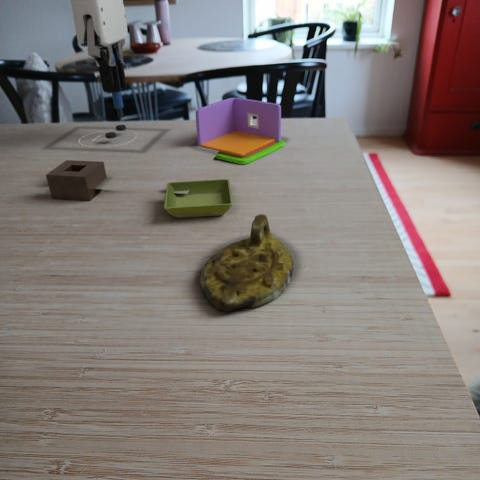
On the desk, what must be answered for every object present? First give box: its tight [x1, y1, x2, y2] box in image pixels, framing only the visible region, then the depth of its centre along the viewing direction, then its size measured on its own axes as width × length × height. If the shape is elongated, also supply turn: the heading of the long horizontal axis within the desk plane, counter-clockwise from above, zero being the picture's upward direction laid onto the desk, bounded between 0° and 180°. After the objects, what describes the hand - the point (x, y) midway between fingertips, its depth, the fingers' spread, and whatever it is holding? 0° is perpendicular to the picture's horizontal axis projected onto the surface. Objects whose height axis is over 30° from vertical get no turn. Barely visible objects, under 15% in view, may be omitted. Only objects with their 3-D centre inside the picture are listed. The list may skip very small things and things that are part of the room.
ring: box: [77, 128, 138, 149], centre depth 92 cm, size 18×12×1 cm, turn 77°
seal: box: [199, 213, 294, 312], centre depth 53 cm, size 9×5×15 cm
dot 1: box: [104, 131, 117, 140], centre depth 89 cm, size 2×2×1 cm
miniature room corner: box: [195, 97, 286, 165], centre depth 86 cm, size 12×12×7 cm
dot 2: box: [115, 124, 127, 132], centre depth 92 cm, size 2×2×1 cm
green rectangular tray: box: [163, 178, 234, 219], centre depth 68 cm, size 9×9×2 cm
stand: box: [45, 159, 108, 202], centre depth 74 cm, size 6×6×4 cm
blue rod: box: [111, 54, 124, 118], centre depth 88 cm, size 2×2×10 cm
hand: (115, 89), depth 88 cm, fingers closed on blue rod, 1 cm apart
